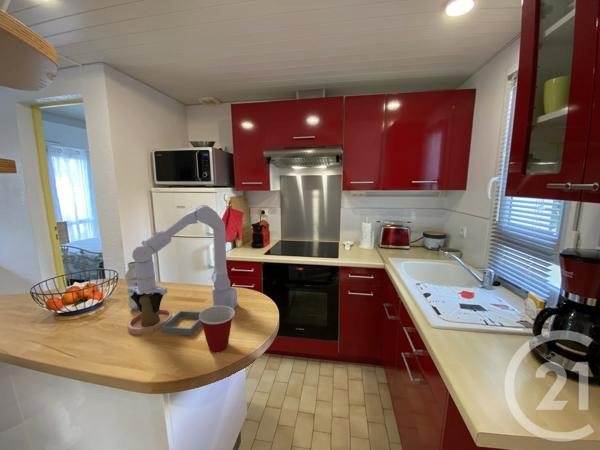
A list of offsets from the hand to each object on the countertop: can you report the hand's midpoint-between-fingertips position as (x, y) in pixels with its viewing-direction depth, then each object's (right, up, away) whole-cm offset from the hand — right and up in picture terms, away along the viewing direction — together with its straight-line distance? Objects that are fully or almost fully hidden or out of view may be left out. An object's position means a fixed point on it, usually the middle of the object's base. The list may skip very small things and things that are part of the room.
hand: (149, 311), depth 90 cm
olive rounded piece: (0, -5, 0) cm, 5 cm away
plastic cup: (+31, -7, -13) cm, 34 cm away
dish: (0, -5, +1) cm, 5 cm away
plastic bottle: (-13, -3, +12) cm, 18 cm away
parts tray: (+14, -5, -1) cm, 15 cm away
